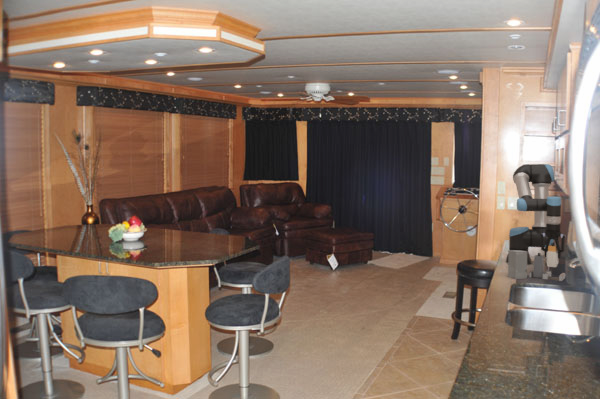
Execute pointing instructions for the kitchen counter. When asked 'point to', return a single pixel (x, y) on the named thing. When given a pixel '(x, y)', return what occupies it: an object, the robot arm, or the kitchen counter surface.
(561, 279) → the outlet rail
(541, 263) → the twin plug
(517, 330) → the kitchen counter surface
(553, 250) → the plug
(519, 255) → the skincare box
